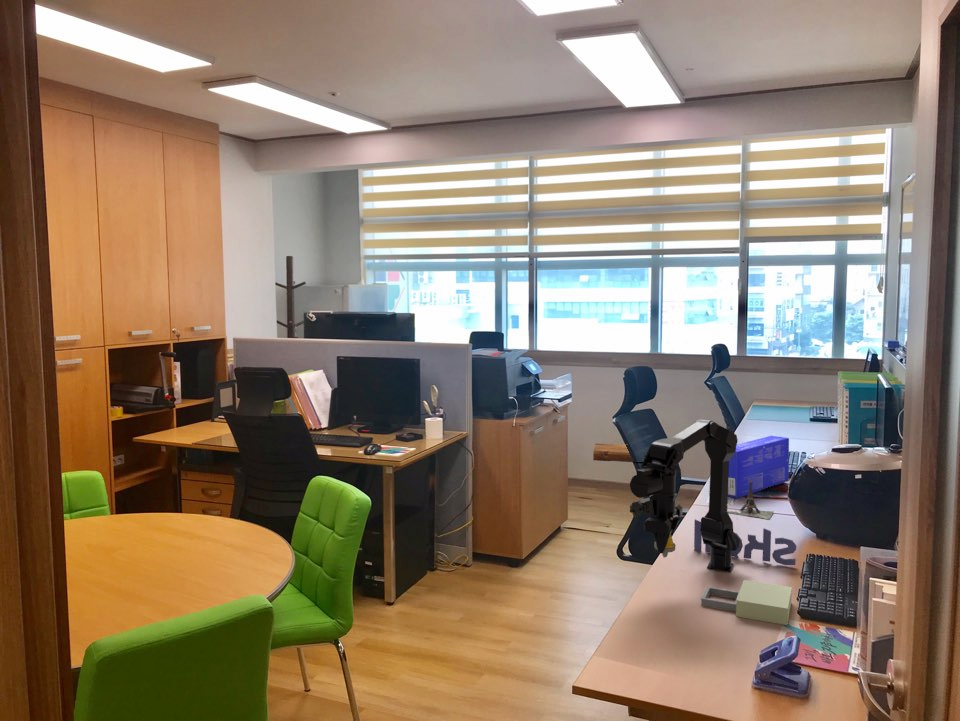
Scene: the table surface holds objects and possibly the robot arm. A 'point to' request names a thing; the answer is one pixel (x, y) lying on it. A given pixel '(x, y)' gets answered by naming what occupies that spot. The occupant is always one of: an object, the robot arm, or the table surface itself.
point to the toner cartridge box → (758, 465)
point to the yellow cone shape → (667, 547)
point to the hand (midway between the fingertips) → (663, 549)
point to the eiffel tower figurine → (749, 510)
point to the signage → (753, 546)
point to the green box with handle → (754, 601)
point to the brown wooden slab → (611, 453)
